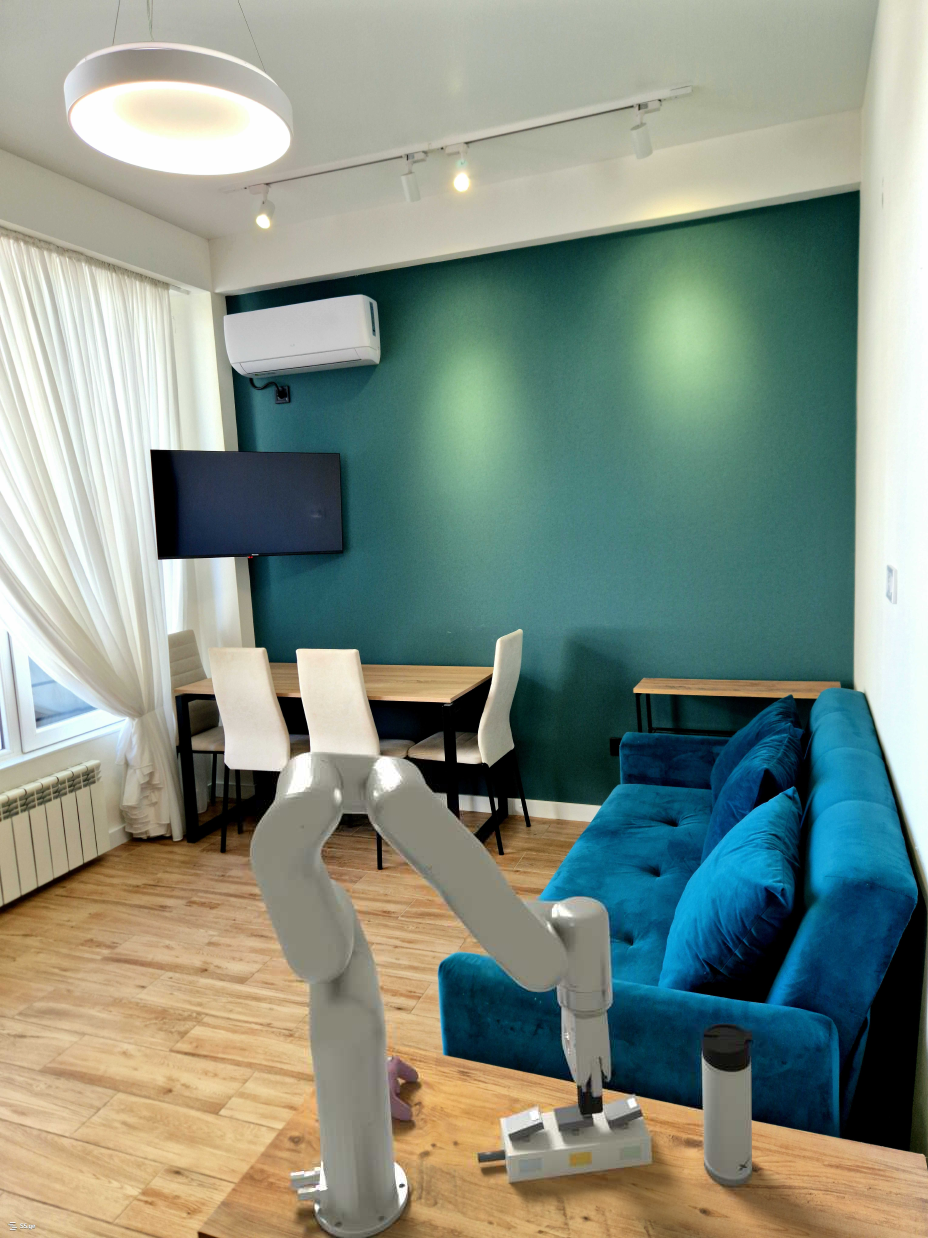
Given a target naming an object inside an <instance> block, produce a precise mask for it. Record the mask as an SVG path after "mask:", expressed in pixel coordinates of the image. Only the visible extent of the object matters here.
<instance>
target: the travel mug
mask: <svg viewBox="0 0 928 1238" xmlns="http://www.w3.org/2000/svg"><path fill="white" fill-rule="evenodd" d="M701 1042H702V1043H701V1048H702V1050H701V1068H702V1069H701V1071H702V1072H701V1073H702V1076H701V1079H702V1080H701V1082H702V1119H703V1120H702V1127H703V1128H702V1129H703V1130H702V1133H703V1166H704V1169H705V1171H706V1173H707V1174H708V1175H709V1177H710V1178H711V1179H713V1180H714V1181H715V1182H717V1183H719V1184H722V1185H724V1186H728V1187H740V1186H742V1185H743V1186H744V1185H745V1184H747V1182H749V1181H750V1180H751V1178H752V1175H753V1143H752V1142H753V1135H752V1133H753V1132H752V1131H753V1130H752V1124H753V1123H752V1065H751V1064H752V1060H751V1046H750V1044H751V1045H754V1037H753V1033H752V1031H750V1030H745V1028H743V1027H741V1026H740V1025H736V1024H732V1023H717V1024H713V1025H711V1026H709V1027H708V1028H706V1029H705V1030H704V1032H703V1035H702V1037H701Z"/></svg>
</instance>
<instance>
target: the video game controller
mask: <svg viewBox="0 0 928 1238" xmlns="http://www.w3.org/2000/svg"><path fill="white" fill-rule="evenodd" d="M387 1071H388V1085H389V1095H390V1108H391V1117H394V1118H395V1119H398V1120H400V1121H403V1122H406V1121H407V1122H408V1121H410V1120H412V1118H413V1111H412V1109H411V1108H410V1106H409V1105H408V1104H406V1103H405V1102H404V1101H402V1100H401V1099H399V1097H397V1094H400V1092H401V1084H400V1081H399V1079H400V1080H402V1081H405V1082H409V1083H415V1082H417V1081H418V1080H419V1073H418V1071H417V1070H416V1069H415V1068H414V1067H413V1066H411V1065H410V1064H407V1063H406V1061H403V1060H402V1059H401V1058H400V1057H398V1056H396V1055H395V1056H394V1055H391V1056H387Z"/></svg>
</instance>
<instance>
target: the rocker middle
mask: <svg viewBox="0 0 928 1238" xmlns="http://www.w3.org/2000/svg"><path fill="white" fill-rule="evenodd" d="M553 1112H554V1117H555V1121H556V1124H557V1128H558V1131H559V1132H562V1131H568V1130H575V1129H581V1128H587V1127H593V1126H594V1120H593V1116H592V1114H590V1115H581V1113H580V1109H579V1107H578V1104H574V1105H567V1106H562V1107H556V1108H553Z"/></svg>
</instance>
